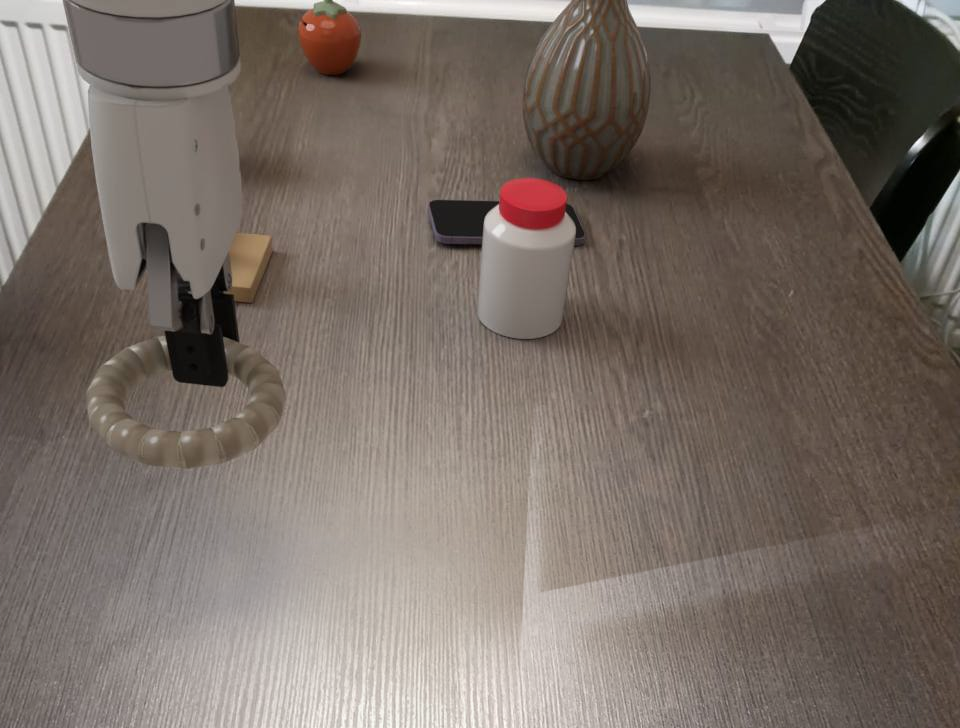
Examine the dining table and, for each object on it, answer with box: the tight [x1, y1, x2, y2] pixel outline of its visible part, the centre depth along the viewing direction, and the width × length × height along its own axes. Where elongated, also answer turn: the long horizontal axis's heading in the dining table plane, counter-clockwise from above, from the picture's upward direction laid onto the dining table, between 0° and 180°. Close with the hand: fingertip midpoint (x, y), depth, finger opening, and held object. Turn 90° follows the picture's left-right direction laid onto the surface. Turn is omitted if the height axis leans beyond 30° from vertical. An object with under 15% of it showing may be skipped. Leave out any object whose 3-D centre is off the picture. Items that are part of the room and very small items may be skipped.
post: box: [224, 231, 274, 304], centre depth 83 cm, size 9×9×12 cm
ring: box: [85, 335, 287, 470], centre depth 56 cm, size 11×11×2 cm
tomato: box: [297, 0, 362, 76], centre depth 114 cm, size 7×7×8 cm
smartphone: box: [427, 199, 586, 247], centre depth 96 cm, size 7×1×15 cm
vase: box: [522, 0, 652, 181], centre depth 99 cm, size 13×13×18 cm
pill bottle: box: [476, 177, 576, 340], centre depth 82 cm, size 8×8×11 cm
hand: (207, 364), depth 59 cm, fingers closed on ring, 2 cm apart
